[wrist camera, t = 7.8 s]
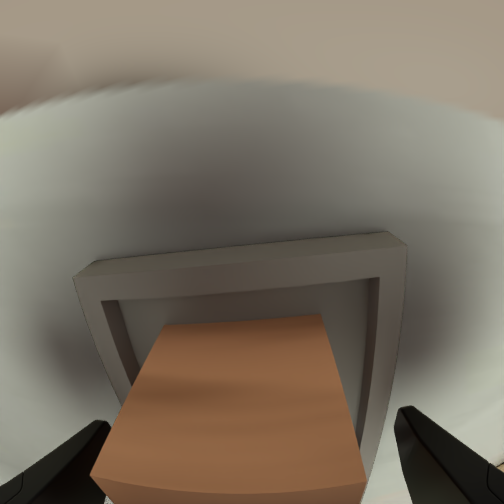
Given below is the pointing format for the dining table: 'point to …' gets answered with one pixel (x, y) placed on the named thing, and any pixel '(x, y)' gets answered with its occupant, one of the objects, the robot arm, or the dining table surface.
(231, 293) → the grey compartment tray
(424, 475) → the robot arm
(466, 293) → the dining table surface
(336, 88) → the dining table surface
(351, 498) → the terracotta block
